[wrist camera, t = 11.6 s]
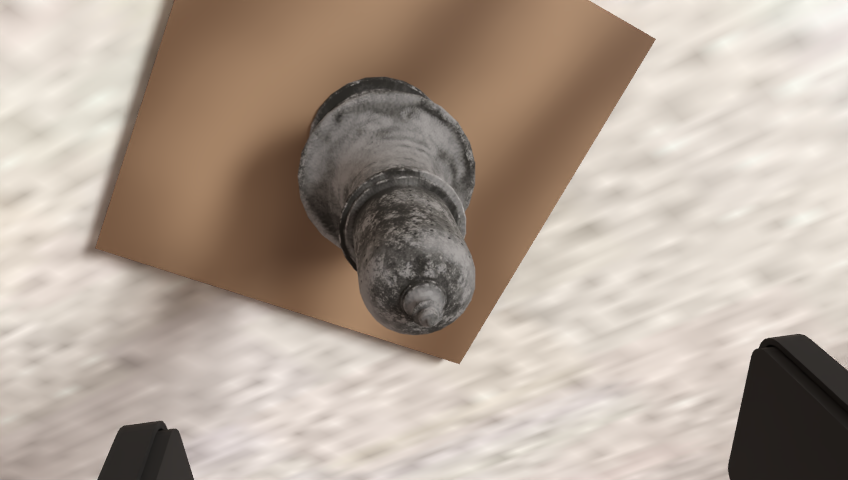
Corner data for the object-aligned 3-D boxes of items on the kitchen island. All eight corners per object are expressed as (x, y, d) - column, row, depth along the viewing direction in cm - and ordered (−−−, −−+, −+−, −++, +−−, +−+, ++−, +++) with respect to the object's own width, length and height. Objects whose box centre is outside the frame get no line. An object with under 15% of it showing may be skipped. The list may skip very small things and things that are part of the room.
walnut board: (643, 35, 24) (655, 38, 24) (455, 351, 30) (459, 364, 29) (242, -197, 19) (239, -202, 18) (102, 236, 25) (95, 248, 24)
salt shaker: (444, 54, 23) (559, 168, 12) (463, 201, 25) (570, 399, 15) (282, 84, 22) (253, 228, 12) (319, 230, 25) (323, 455, 14)
